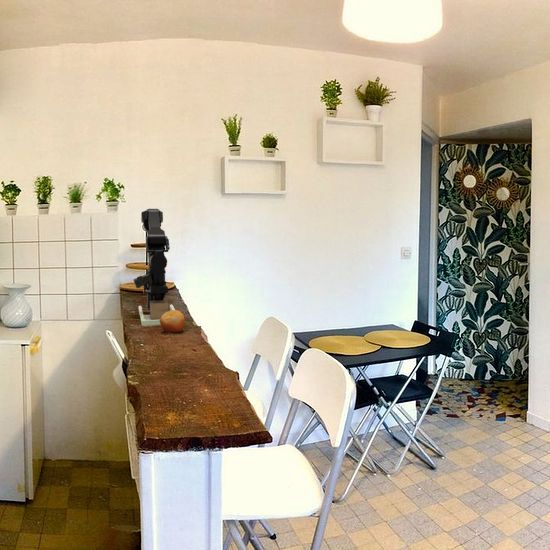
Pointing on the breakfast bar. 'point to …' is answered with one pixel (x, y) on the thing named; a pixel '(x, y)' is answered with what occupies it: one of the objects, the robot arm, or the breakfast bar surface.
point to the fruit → (172, 321)
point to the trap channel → (147, 320)
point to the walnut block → (158, 309)
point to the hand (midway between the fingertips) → (158, 309)
